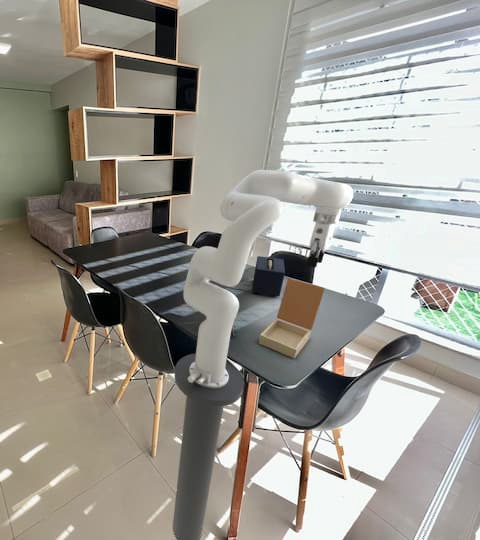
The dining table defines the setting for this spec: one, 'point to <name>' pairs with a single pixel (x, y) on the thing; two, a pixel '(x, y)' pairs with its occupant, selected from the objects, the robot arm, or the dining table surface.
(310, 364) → the dining table surface
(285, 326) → the open wooden box
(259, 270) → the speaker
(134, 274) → the dining table surface
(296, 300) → the cover
